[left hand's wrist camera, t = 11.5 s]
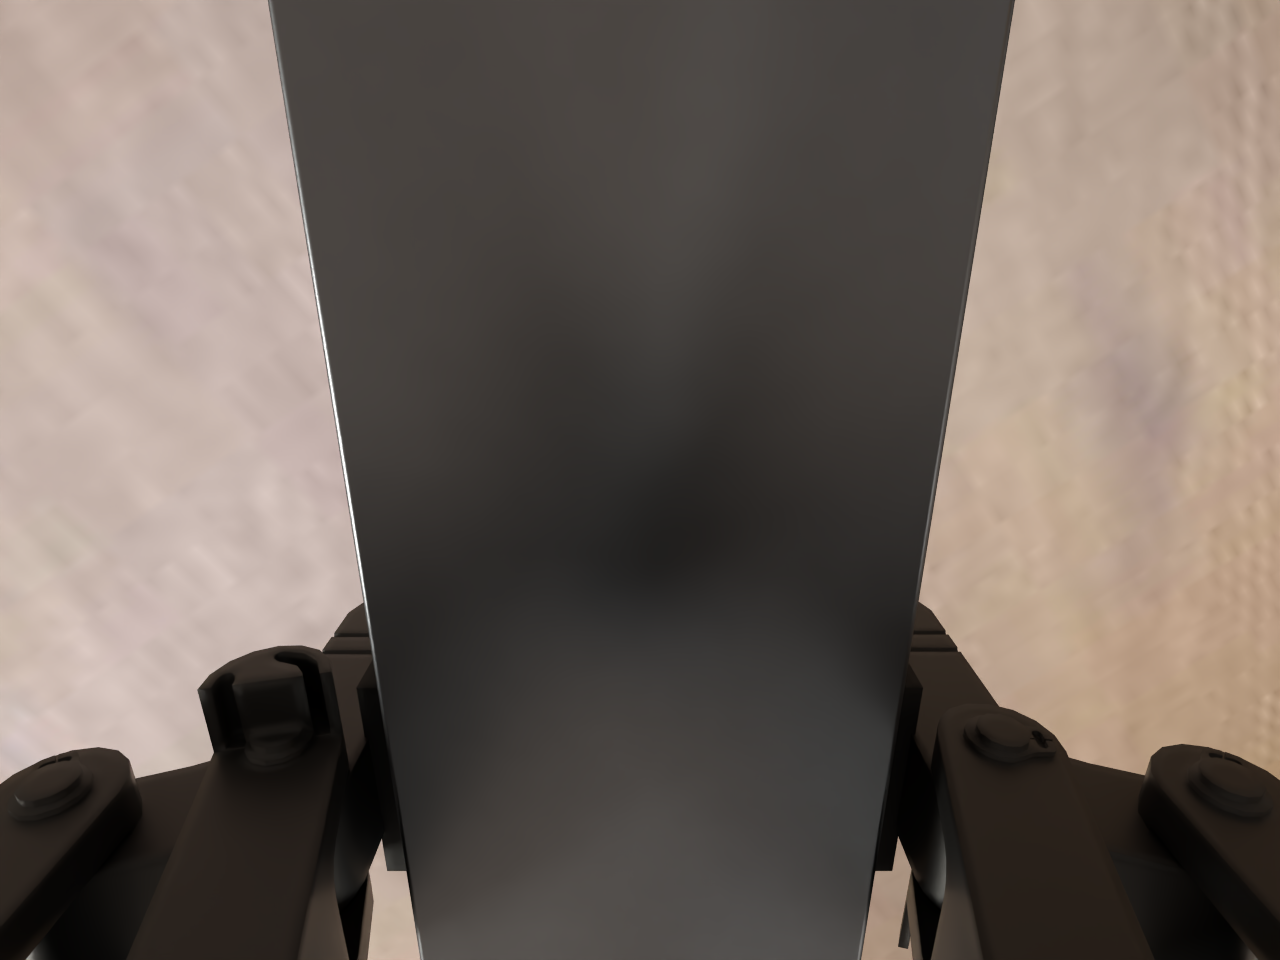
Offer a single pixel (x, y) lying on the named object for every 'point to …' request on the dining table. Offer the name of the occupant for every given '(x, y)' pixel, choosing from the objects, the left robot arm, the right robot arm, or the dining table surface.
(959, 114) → the bar
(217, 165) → the dining table surface
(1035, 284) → the dining table surface
